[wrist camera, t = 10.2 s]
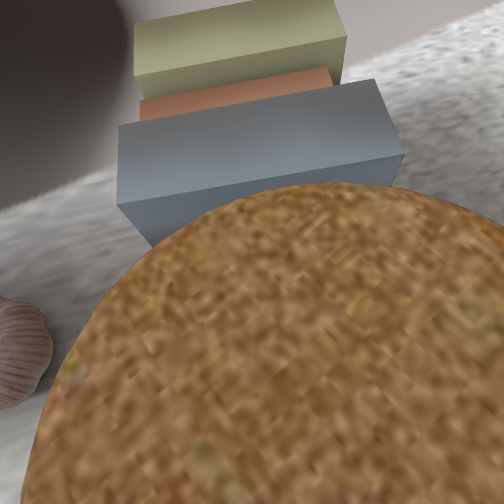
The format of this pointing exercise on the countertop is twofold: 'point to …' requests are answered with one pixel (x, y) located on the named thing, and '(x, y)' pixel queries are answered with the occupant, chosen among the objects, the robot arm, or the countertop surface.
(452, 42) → the countertop surface
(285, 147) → the rack
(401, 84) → the countertop surface
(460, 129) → the countertop surface
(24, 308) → the garlic bulb
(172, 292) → the bottle
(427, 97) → the countertop surface
